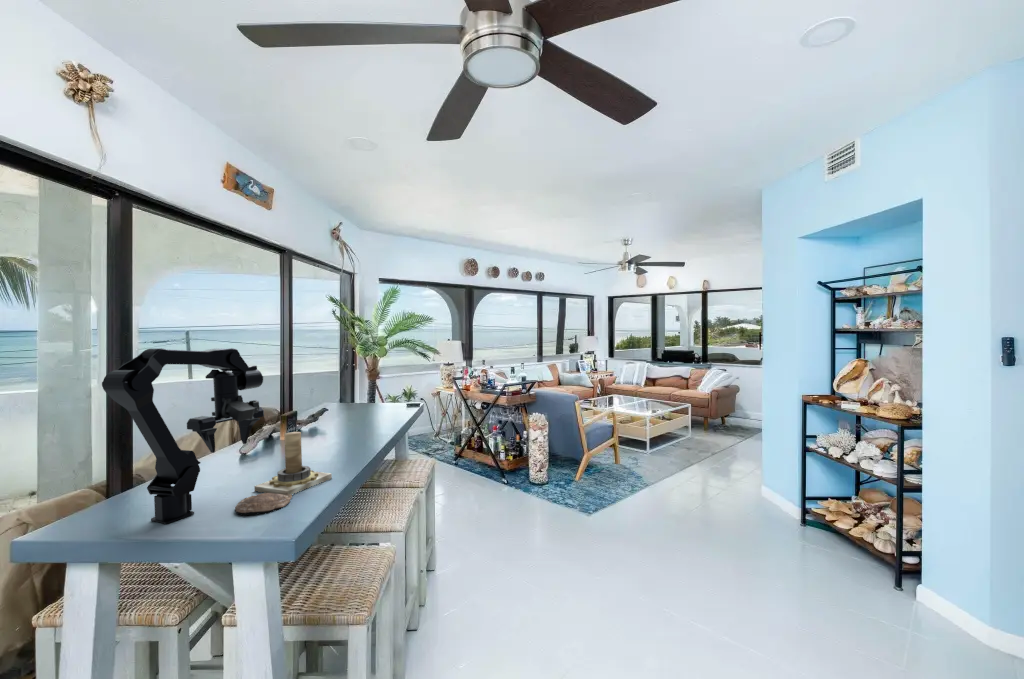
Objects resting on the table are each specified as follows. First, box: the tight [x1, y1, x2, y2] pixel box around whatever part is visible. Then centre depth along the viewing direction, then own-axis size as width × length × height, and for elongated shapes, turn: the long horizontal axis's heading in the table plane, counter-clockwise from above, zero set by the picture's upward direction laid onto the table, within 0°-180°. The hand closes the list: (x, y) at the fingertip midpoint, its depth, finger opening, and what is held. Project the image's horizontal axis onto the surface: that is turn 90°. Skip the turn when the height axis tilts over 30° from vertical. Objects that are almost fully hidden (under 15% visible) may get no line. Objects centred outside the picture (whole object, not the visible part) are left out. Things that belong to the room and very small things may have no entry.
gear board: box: [253, 465, 333, 496], centre depth 132 cm, size 16×13×4 cm
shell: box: [234, 492, 293, 517], centre depth 115 cm, size 12×13×4 cm
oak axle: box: [284, 431, 303, 474], centre depth 131 cm, size 4×4×13 cm
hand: (229, 448), depth 125 cm, fingers open, 9 cm apart
